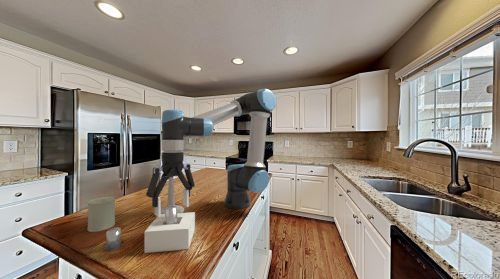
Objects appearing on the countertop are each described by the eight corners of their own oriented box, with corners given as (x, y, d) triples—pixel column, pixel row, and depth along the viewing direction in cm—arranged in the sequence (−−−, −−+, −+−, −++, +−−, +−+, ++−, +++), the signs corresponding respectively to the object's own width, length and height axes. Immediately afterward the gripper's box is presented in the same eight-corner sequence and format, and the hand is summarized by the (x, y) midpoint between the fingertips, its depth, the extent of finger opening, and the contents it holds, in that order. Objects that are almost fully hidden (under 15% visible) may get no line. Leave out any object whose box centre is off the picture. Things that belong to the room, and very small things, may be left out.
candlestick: (183, 215, 88) (184, 154, 88) (155, 218, 84) (155, 155, 84) (184, 206, 100) (184, 153, 100) (159, 209, 96) (159, 153, 96)
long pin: (179, 234, 69) (177, 204, 68) (177, 241, 65) (174, 209, 64) (169, 236, 69) (166, 206, 68) (165, 242, 65) (163, 210, 64)
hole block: (194, 228, 75) (194, 212, 75) (188, 249, 61) (188, 228, 61) (159, 231, 73) (159, 214, 73) (144, 252, 59) (144, 231, 59)
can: (92, 234, 70) (92, 204, 70) (83, 228, 75) (84, 199, 75) (119, 224, 78) (119, 197, 78) (110, 219, 83) (110, 194, 83)
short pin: (123, 243, 64) (123, 226, 64) (116, 250, 60) (116, 232, 60) (110, 244, 64) (110, 227, 64) (103, 251, 60) (103, 233, 60)
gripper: (192, 149, 78) (192, 200, 78) (134, 152, 60) (134, 218, 60) (203, 150, 74) (203, 203, 74) (144, 154, 55) (144, 225, 55)
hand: (172, 210), depth 67 cm, fingers open, 10 cm apart
